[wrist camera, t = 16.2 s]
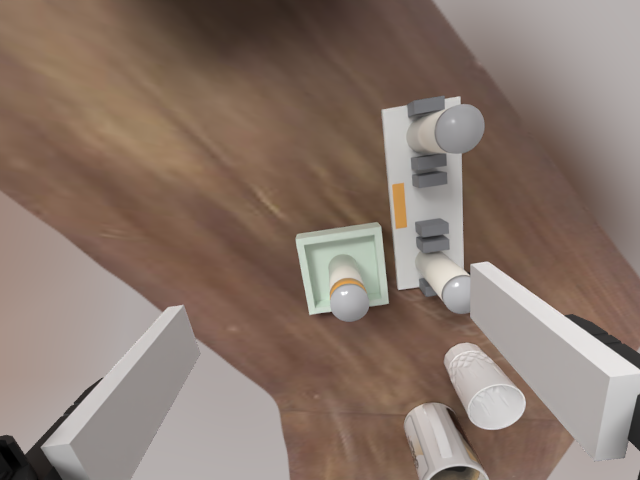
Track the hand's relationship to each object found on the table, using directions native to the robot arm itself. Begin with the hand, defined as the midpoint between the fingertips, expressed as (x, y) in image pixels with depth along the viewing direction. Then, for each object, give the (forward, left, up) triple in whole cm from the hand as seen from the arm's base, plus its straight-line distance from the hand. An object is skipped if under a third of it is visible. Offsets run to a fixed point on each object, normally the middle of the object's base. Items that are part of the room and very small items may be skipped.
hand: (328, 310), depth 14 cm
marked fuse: (+10, +1, -30) cm, 31 cm away
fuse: (+11, +14, -30) cm, 35 cm away
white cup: (+30, +19, -31) cm, 47 cm away
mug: (+42, +13, -31) cm, 54 cm away
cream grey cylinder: (-7, +14, -30) cm, 34 cm away
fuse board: (+2, +14, -30) cm, 34 cm away
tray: (+10, +1, -30) cm, 32 cm away
